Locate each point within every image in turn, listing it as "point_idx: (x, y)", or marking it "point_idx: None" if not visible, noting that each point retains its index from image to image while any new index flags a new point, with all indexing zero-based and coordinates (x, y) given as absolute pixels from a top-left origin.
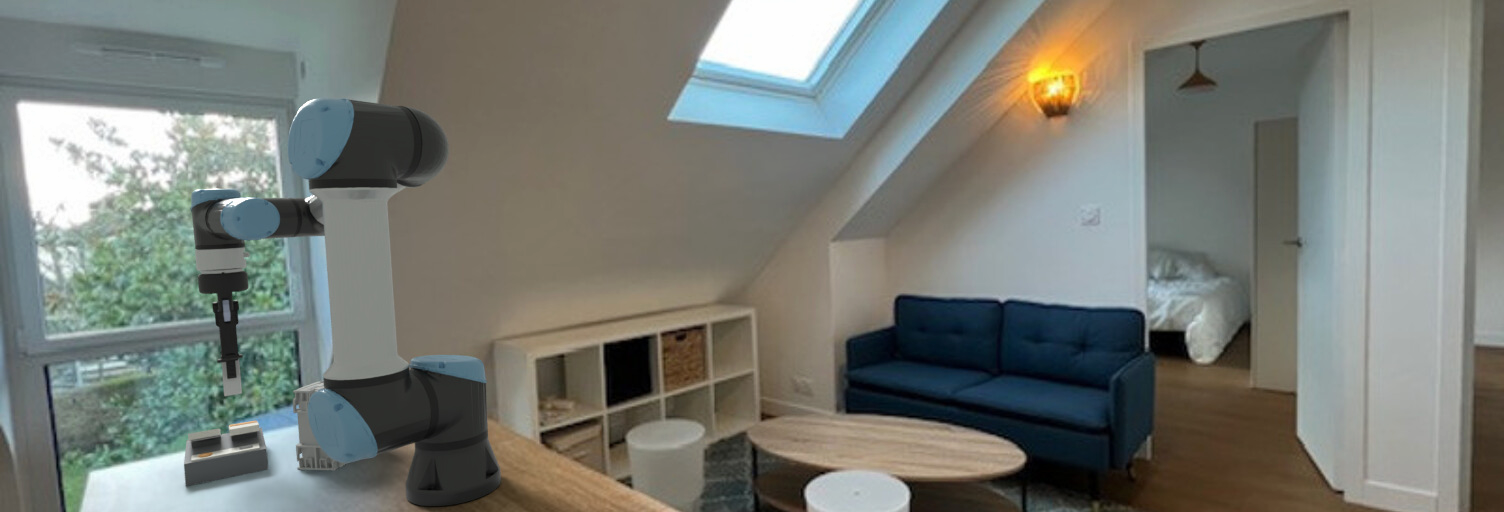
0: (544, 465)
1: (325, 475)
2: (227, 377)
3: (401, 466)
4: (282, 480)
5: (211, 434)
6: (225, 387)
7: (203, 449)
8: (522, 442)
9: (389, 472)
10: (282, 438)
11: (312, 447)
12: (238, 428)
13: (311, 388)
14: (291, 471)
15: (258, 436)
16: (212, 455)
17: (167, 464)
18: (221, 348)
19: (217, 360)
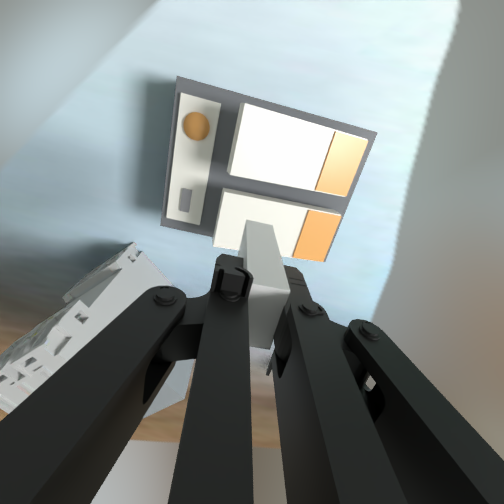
0: None
1: (70, 258)
2: (219, 256)
3: None
4: (92, 210)
5: (231, 154)
6: (245, 235)
7: None
8: None
9: (22, 313)
10: (333, 278)
11: (92, 276)
12: (221, 209)
13: (38, 373)
14: (130, 233)
15: None
16: (183, 137)
17: (373, 93)
18: (144, 339)
19: (214, 271)
